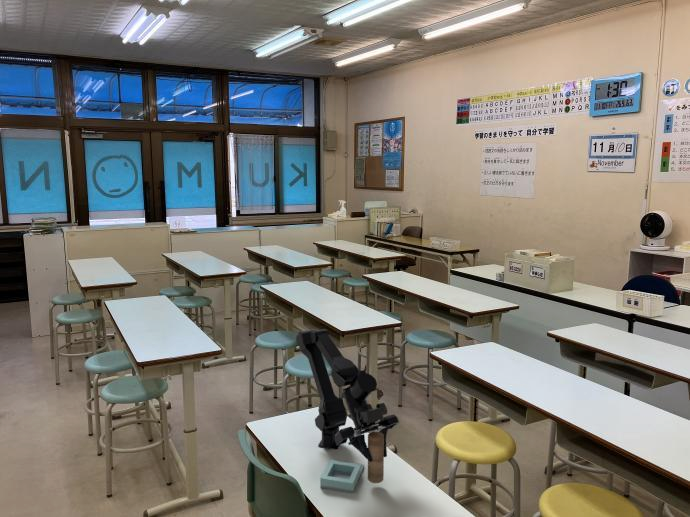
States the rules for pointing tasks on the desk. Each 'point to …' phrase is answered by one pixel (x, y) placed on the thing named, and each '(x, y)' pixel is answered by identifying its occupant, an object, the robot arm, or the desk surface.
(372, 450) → the dowel peg
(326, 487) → the light blue hollow frame
